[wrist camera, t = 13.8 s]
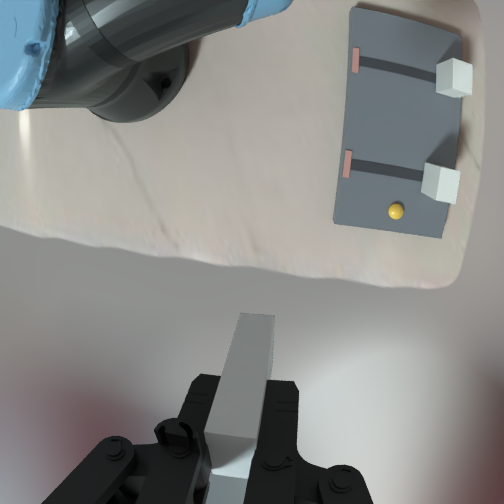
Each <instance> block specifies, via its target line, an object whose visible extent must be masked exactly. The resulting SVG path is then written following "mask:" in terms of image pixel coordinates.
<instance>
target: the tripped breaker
mask: <svg viewBox="0 0 504 504" xmlns="http://www.w3.org/2000/svg"><path fill="white" fill-rule="evenodd" d="M459 179H460V171H457V170H453V169H450V168H447V167H444V166H439V165H435V164H430V163H426V162H425V167H424V174H423V181H422V187H421V192H422V193H424V194H425V195H427V196H429V197H431V198H432V199H434V200H437V201H442V202H447V203H452V204H455V202H456V197H457V191H458V185H459Z"/></svg>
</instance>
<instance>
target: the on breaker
mask: <svg viewBox="0 0 504 504" xmlns="http://www.w3.org/2000/svg"><path fill="white" fill-rule="evenodd" d="M436 93H440V94H443V95H447V96H450V97H453V98H455V97H462V96H468V95H472V65H471V64H469V63H466V62H463V61H460V60H458V59H455V58H451V59H449V60H446V61H444V62H442V63H439V64H437V65H436Z"/></svg>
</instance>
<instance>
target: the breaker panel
mask: <svg viewBox="0 0 504 504" xmlns="http://www.w3.org/2000/svg"><path fill="white" fill-rule="evenodd" d="M451 58H455V59H458V60H460V61H462V40H461V36H460V35H457V34H454V33H451V32H449V31H446V30H443V29H440V28H437V27H434V26H431V25H427V24H424V23H421V22H417V21H414V20H410V19H407V18H403V17H399V16H395V15H391V14H386V13H382V12H377V11H373V10H368V9H362V8H357V7H352V8H351V10H350V16H349V51H348V72H347V88H346V103H345V115H344V127H343V138H342V148H341V157H340V167H339V175H338V184H337V192H336V200H335V207H334V214H333V221H334V224H339V225H347V226H355V227H362V228H370V229H378V230H385V231H392V232H399V233H406V234H413V235H420V236H427V237H434V238H440V239H441V238H442V234H443V230H444V225H445V221H446V216H447V211H448V206H449V203H447V202H442V201H437V200H434V199H432V198H431V197H429V196H427V195H425V194H424V193H422V192H421V187H422V181H423V174H424V167H425V162H426V163H430V164H435V165H439V166H444V167H447V168H450V169H453V170H455V163H456V156H457V147H458V138H459V128H460V115H461V97H455V98H453V97H450V96H447V95H443V94H440V93H436V65H437V64H439V63H442V62H444V61H446V60H449V59H451Z"/></svg>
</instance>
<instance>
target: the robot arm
mask: <svg viewBox="0 0 504 504" xmlns="http://www.w3.org/2000/svg"><path fill="white" fill-rule="evenodd" d="M292 1H293V0H0V109H10V110H15V111H21V110H24V109H35V108H87V109H89V110H90V111H91V112H92V113H93V114H95V115H96V116H98V117H100V118H101V119H104V120H107V121H110V122H116V123H131V122H138V121H142V120H145V119H147V118H150V117H151V116H153V115H155V114H157V113H158V112H160V111H161V110H162V109H164V108H165V107H166V106H167V105H168V104H169V103H170V102H171V101H172V99H173V98H174V97H175V96H176V94H177V93H178V91H179V90H180V88H181V86H182V84H183V82H184V79H185V76H186V73H187V69H188V62H189V53H188V46H187V42H190V41H192V40H195V39H198V38H201V37H203V36H206V35H209V34H212V33H215V32H218V31H221V30H224V29H228V28H231V27H234V26H235V27H236V28H240V27H243V26H245V25H246V24H247V23H248V22H251V21H254V20H258V19H261V18H264V17H268V16H271V15H275V14H278V13H280V12H282V11H284V10H286V9H287V8H288V7H289V5H290V4H291V3H292ZM274 318H275V316H274V315H264V314H249V313H240V317H239V320H238V323H237V327H236V330H235V333H234V336H233V340H232V343H231V346H230V349H229V353H228V356H227V359H226V362H225V366H224V369H223V372H222V375H221V376H216V375H208V374H200V375H199V376H198V377H197V378H196V379H195V380H193V381H192V383H191V385H190V388H189V391H188V394H187V395H186V398H185V402H184V403H183V405H182V408H181V410H180V413H179V415H178V418H171V419H167V420H164V421H162V422H161V423H159V424H158V425H157V426H156V428H155V429H154V432H155V434H156V437H157V439H158V443H155V444H146V445H145V444H143V445H132V443H131V442H130V441H129V440H128V439H126V438H124V437H121V436H111V437H108V438H105V439H103V440H102V441H101V442H99V444H98V445H97V446H96V447H95V448H94V449H93V450H92V451H91V452H90V453H89V454H88V455H87V456H86V457H85V458H84V460H83V461H82V462H81V463H80V464H79V465H78V466H77V467H76V468H75V469H74V470H73V471H72V472H71V473H70V474H69V475H68V477H66V479H65V480H64V481H63V482H62V483H61V484H60V485H59V486H58V487H57V488H56V489H55V490H54V491H53V492H52V493H51V494H50V495H49V496H48V497H47V498H46V500H44V501H43V502H42V504H205V502H206V499H207V495H208V491H209V476H210V472H211V469H212V473H213V474H217V475H223V476H224V475H225V476H231V477H238V478H239V477H240V478H248V482H247V487H246V493H245V498H244V503H243V504H373V501H372V499H371V496H370V494H369V491H368V488H367V486H366V483H365V481H364V478H363V476H362V475H361V473H360V472H359V471H358V470H357V469H355V468H354V467H352V466H348V465H335V466H332V467H330V468H328V469H326V468H322V467H319V466H316V465H313V464H310V463H308V462H307V461H305V460H304V459H303V458H302V457H301V456H300V455H299V453H298V450H297V428H298V403H299V390H298V388H297V387H296V385H295V383H294V381H279V380H270V378H271V371H272V364H273V345H274V344H273V343H274Z"/></svg>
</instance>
